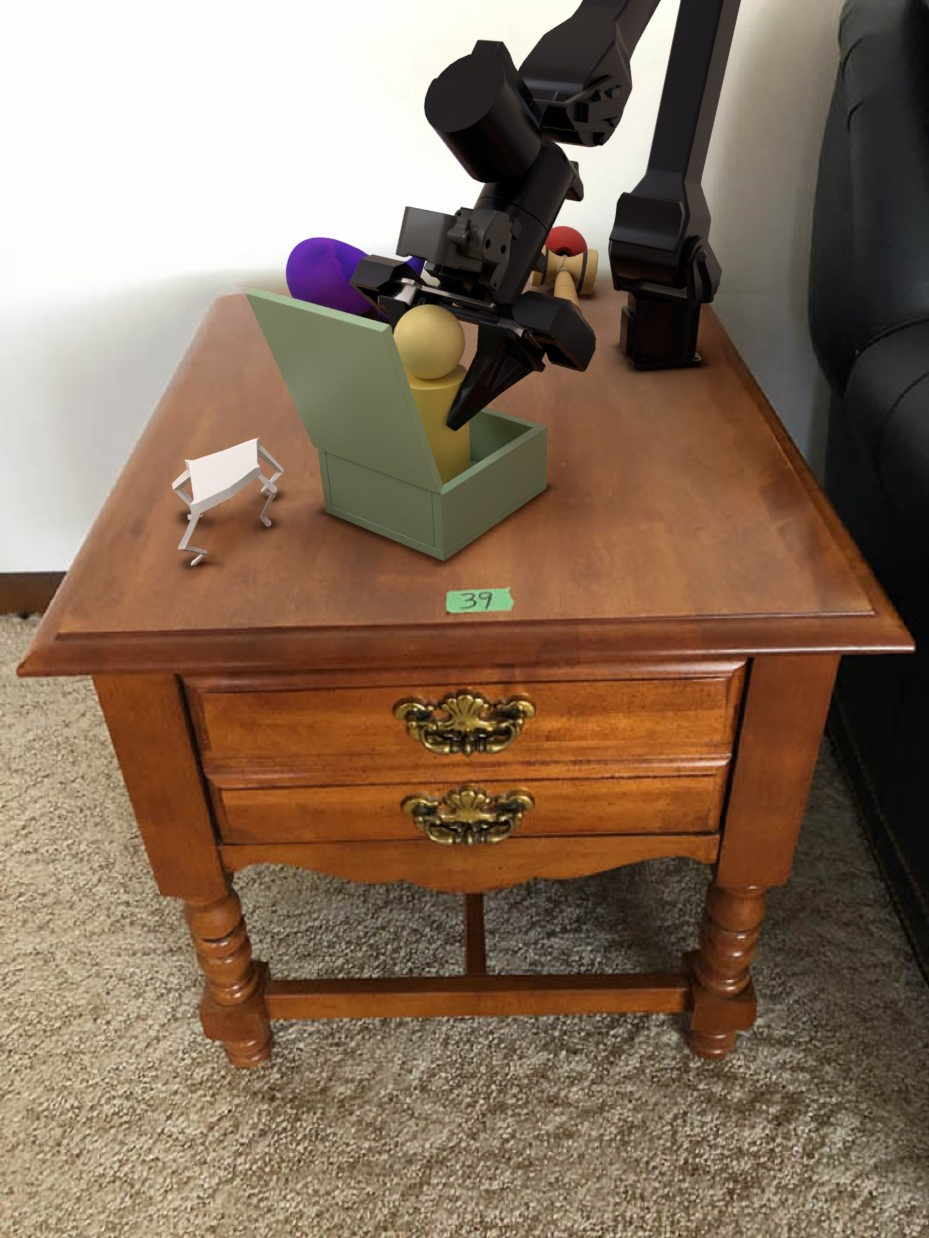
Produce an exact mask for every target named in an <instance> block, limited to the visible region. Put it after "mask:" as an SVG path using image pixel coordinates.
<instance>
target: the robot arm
mask: <svg viewBox="0 0 929 1238" xmlns="http://www.w3.org/2000/svg"><path fill="white" fill-rule="evenodd" d="M661 1H662V0H581V2H580V4H579V5H578V7H577V9H575V11H574V12H573V13H572V15H571V16H569V18H567V19H565V20H563V21H562V22H561V23H559V24H557V25H556V26H555V27H553V28H551V29H550V30H548V31H547V32H545V33H544V34H542V36H541V38H540V39H539V40H538V42H537V43H536V44H535V46H534V47H532V49H531V51H530V52H529V53H528V55H526V57H525V58H524V59H523V61H522V63H521V64H520V66H519V67H518V68H517V67H516V65H515V63H514V59H513V57H512V54H511V52H510V51H509V49H508V47H507V46H506V44H505V42H504V41H503V40H493V39H491V40H489V39H477V40H476V41H475V44H474V46H473V49H472V50H471V53H469V54H466V55H464V56H462V57H460V58H457V59H456V60H454V61H453V62H452V63H449V65H447V66H446V67H445V68H444V69H443V70H442V71H441V72H440V73H439V75H438V76H436V77H435V78H433V79H432V80H431V82H430V84H429V85H428V87H427V91H426V93H425V96H424V101H423V111H424V116H425V119H426V120H427V122H428V124H429V126H430V127H431V128H432V130H434V132H435V133H436V134H437V136H438V137H439V138H440V140H441V141H442V142H443V144H444V145H445V146H446V148H447V150H448V151H450V153H451V154H452V155H453V157H454V158H455V159H456V161H457V162H458V163H459V165H460V167H462V168H463V170H464V172H466V174H467V175H468V176H469V177H470V178H471V179H472V180H474V181H476V182H478V183H481V184H483V186H482V188H481V190H480V193H479V195H478V197H477V199H476V201H475V204H474V205H473V208H470V207H466V206H460V208H459V209H457V210H456V211H455V213H454V214H450V213H444V212H440V211H435V210H429V209H424V208H420V207H414V206H407V205H406V206H405V207H404V210H403V216H402V220H401V225H400V229H399V235H398V239H397V244H396V249H395V256H398V257H401V258H408V257H411V258H412V257H415V258H418V259H421V260H425V265H424V268H423V271H425V272H426V273H427V274H428V275H429V276H430V277H431V278H435V279H437V281H438V285H433V284H429V283H427V281H425V279H423V277H421V276H419V275H418V274H417V273H416V271H415V270H414V269H413V268H412V267H411V266H410V265H409V264H408V263H407V262H404V261H405V260H399V259H395V258H390V257H386V256H381V255H377V254H373V253H372V254H368V255H369V256H367V257H364V258H362V259H360V261H359V263H358V265H357V268H356V270H355V272H354V274H353V276H352V278H351V280H350V283H349V284H350V285H351V286H352V287H353V288H354V289H355V290H356V291H358V292H359V293H360V294H361V295H362V296H363V297H364V298H365V299H366V300H367V301H369V302H370V303H371V304H372V305H373V306H374V307H373V308H375V309H376V311H377V310H378V311H380V312H381V313H382V314H383V315H384V316H385V317H387V318H389V320H390V321H389V325H390V327H391V330H392V333H393V335H394V331H395V328H396V326H397V324H398V322H399V320H400V319H401V318H402V316H403V315H404V314H405V313H407V312H408V311H409V310H411V309H413V308H415V307H417V306H421V305H436V306H440V307H443V308H445V309H447V310H448V311H450V312H451V313H452V314H453V315H454V316H455V317H456V318H457V319H458V321H459V322H460V321H461V322H463V323H468V324H470V325H471V324H472V325H476V326H477V339H476V341H477V342H476V352H475V354H474V357H473V358H472V361H471V363H470V365H469V367H468V369H467V373H466V376H465V378H464V380H463V382H462V384H461V387H460V389H459V391H458V393H457V395H456V397H455V400H454V402H453V404H452V407H451V410H450V413H449V416H448V419H447V421H446V426H447V427H448V428H450V429H451V430H453V431H457V430H459V429H460V428H461V427H462V426H463V425H464V424H466V423H467V422H468V421H469V420H470V419H472V418H473V417H474V416H475V415H476V414H477V413H479V412H480V411H481V410H482V409H483V408H485V407H486V408H487V406H488V405H489V404H490V403H492V402H493V401H494V400H495V399H496V398H499V396H500V395H502V394H503V393H504V392H506V391H507V390H509V389H510V388H512V387H513V386H515V385H516V384H517V383H519V382H521V380H523V379H525V378H526V377H527V376H529V375H530V374H532V373H534V372H536V373H544V371H545V370H546V367H547V365H546V364H545V363H544V361H543V360H544V357H545V355H546V357H547V359H548V362H550V364H551V365H554V366H557V367H561V368H565V369H569V370H572V371H576V372H579V373H584V372H585V371H587V370H588V367H589V365H590V363H591V360H592V358H593V356H594V354H595V352H596V349H597V346H596V345H597V337H596V333H595V330H594V329H593V328H592V327H591V325H590V324H589V323H588V321H587V319H585V317H584V316H583V314H582V315H581V313H582V312H581V313H580V312H579V311H578V309H577V308H576V307H575V305H574V304H573V303H572V301H571V300H568V299H564V298H560V297H555V296H554V295H551V294H546V293H543V292H537V291H534V290H529V289H528V290H527V291H525V288H526V286H527V284H528V282H529V280H530V278H531V273H532V271H535V272H540V273H543V272H544V270H545V267H546V265H547V263H548V259H547V258H546V257H545V255H544V254H543V253H542V249H543V247H544V245H545V242H546V240H547V238H548V236H549V234H550V232H551V229H552V228H554V225H555V224H556V221H557V218H558V217H559V214H560V212H561V210H562V208H563V205H564V203H565V201H572V202H578V203H580V202H582V201H583V200H584V198H585V189H584V188H585V187H584V182H583V181H582V178H581V175H580V164H579V161H576V160H571V159H569V157H568V155H567V154H566V152H565V151H564V150H563V148H562V147H561V146H560V145H559V144H562V145H568V146H576V147H582V148H583V147H584V148H595V147H603V146H604V145H605V144H606V143H608V142H609V140H610V139H611V137H612V136H613V134H614V133H615V131H616V129H617V128H618V126H619V124H620V123H621V121H622V118H623V115H624V113H625V112H624V111H625V108H626V105H627V103H628V101H629V98H630V96H631V94H632V92H633V77H632V68H631V67H632V66H631V60H632V57H633V54H634V52H635V50H636V47H637V46H638V43H639V41H640V40H641V38H642V36H643V34H644V32H645V31H646V28H647V27H648V25H649V24H650V22H651V19H652V18H653V16H654V14H655V12H656V11H657V9H658V7H659V5H660V3H661ZM741 3H742V0H679V6H678V10H677V15H676V19H675V20H676V21H675V24H674V31H673V35H672V40H671V45H670V49H669V55H668V61H667V65H666V69H665V75H664V80H663V84H662V85H663V86H662V90H661V95H660V100H659V105H658V110H657V116H656V120H655V125H654V130H653V135H652V140H651V144H650V150H649V155H648V160H647V165H646V170H645V173H644V175H643V177H642V178H641V179H640V180H639V181H638V183H637V184H636V185H635V186H634V187H633V189H632V190H631V191H630V192H627V191H623V192H621V193H620V195H619V198H618V199H617V201H616V206H615V214H614V221H613V225H612V228H611V231H610V234H609V237H608V245H607V246H608V247H607V256H608V261H609V267H610V274H611V280H612V286H613V287H612V288H613V290H614V291H616V292H625V293H627V304H625V305H622V307H621V311H620V329H619V343H618V344H619V348H620V349H621V351H622V353H623V355H624V356H625V357H627V359H628V361H629V363H631V366H632V368H633V369H636V370H648V369H660V368H673V367H687V366H698V365H701V364H702V357H701V356H700V355H699V354H698V352H697V347H698V335H699V327H700V318H701V309H702V305H704V304H705V305H706V304H711V303H713V302H714V301H715V299H714V298H715V295H716V294H717V293H718V290H719V287H720V284H721V277H722V274H723V269H722V267H721V264H720V262H719V261H718V258H717V256H716V255H715V253H714V250H713V248H712V246H711V244H710V242H709V239H710V238H709V237H710V230H711V225H712V215H711V213H710V209H709V206H708V203H707V200H706V195H705V193H704V190H703V186H702V180H703V176H704V171H705V165H706V161H707V157H708V152H709V148H710V143H711V138H712V134H713V130H714V125H715V121H716V116H717V111H718V106H719V102H720V98H721V93H722V89H723V84H724V80H725V75H726V70H727V66H728V63H729V57H730V53H731V49H732V43H733V40H734V35H735V30H736V25H737V21H738V16H739V11H740V7H741Z"/></svg>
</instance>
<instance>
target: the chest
mask: <svg viewBox="0 0 929 1238" xmlns="http://www.w3.org/2000/svg"><path fill="white" fill-rule="evenodd" d="M548 428H549V427H548V426H547V425H544V424H541V423H537V422H536V421H535V422H534V421H531V420H529V419H525V418H522V417H518V416H516V415H512V414H508V413H505V412H502V411H499V410H496V409H492V408H489V407H487V406H486V407H485V408H483V409H482V410H481V411H480V412H479V413H477V414H476V415H475V416H474V417H473V418H472V419H470V420H469V436H470V468H469V469H468V470H466V471H465V472H463V473H462V474H460V475H459V476H457V477H455V478H454V479H452V480H451V481H449V482H448V483H446V484H445V485H443V488H442V489H441V490H440V491H439V492H438V493H435V492H432V491H429V490H427V489H424V488H421V487H419V486H416V485H413V484H411V483H408V482H405V481H403V480H400V479H397V478H395V477H392V476H389V475H387V474H384V473H381V472H379V471H376V470H373V469H371V468H368V467H365V466H363V465H360V464H357V463H355V462H352V461H349V460H347V459H344V458H341V457H339V456H336V455H333V454H331V453H328V452H325V451H323V450H320V449H317V454H318V462H319V469H320V479H321V486H322V494H323V502H324V509H325V512H326V514H329V515H332V516H334V517H337V518H339V519H341V520H344V521H346V522H349V523H351V524H353V525H356V526H358V527H361V528H363V529H366V530H368V531H371V532H373V533H375V534H377V535H379V536H383V537H385V538H387V539H389V540H392V541H394V542H397V543H399V544H402V545H404V546H406V547H409V548H412V549H413V550H416V551H418V552H421V553H423V554H425V555H428V556H430V557H432V558H435V559H437V560H440V561H442V562H445V561H447V560H448V559H450V558H451V557H452V556H454V555H455V554H457V553H458V552H460V551H461V550H462V549H463V548H465V547H466V546H468V545H469V544H471V543H472V542H474V541H475V540H476V539H478V538H479V537H480V536H482V535H483V534H485V533H486V532H487V531H489V530H490V529H492V528H493V527H494V526H496V525H498V524H499V523H500V522H501V521H503V520H504V519H505V518H507V517H508V516H510V515H511V514H513V513H514V512H516V511H517V510H518V509H519V508H521V507H523V506H524V505H525V504H527V503H528V502H530V501H531V500H533V499H534V498H535V497H536V496H538V495H539V494H541V493H543V492H544V490H546V489H547V479H548V477H547V476H548V475H547V474H548V473H547V472H548V433H549V432H548Z"/></svg>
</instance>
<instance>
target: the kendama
mask: <svg viewBox="0 0 929 1238" xmlns="http://www.w3.org/2000/svg"><path fill="white" fill-rule="evenodd" d="M542 253H543V254H544V255H545V257H546V258H547V259H548V263H547V265H546V267H545V270H544V272H543V273H540V272H535V271H532V273H531V275H530V283H529V284H530V286H531V287H534V288H541V286H543V285H545V284H546V283H549V282H554V283H555V284H554V292H553V296H555V297H560V298H564V299H568V300H571V301H572V303H573V304H574V305H575V307H576V308H577V309H578V311H579V312H580V313H581V315H582V316H583V314H582V309H581V306H580V302H579V297H578V293H579V294H580V295H587V296H590V295H591V294H592V292H593V291H594V288H595V284H596V279H597V273H598V265H599V251H598V249H595V248H588V244H587V241H586V239H585V238H584V236H583V235H582V233H580V231H578V230H577V229H575V228H574V227H572V226H567V225H557V226H553V227H552V229H551V232H550V234H549V236H548V238H547V240H546V242H545V245H544V247H543V249H542ZM577 291H578V293H577Z"/></svg>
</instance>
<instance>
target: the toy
mask: <svg viewBox="0 0 929 1238" xmlns="http://www.w3.org/2000/svg"><path fill="white" fill-rule="evenodd" d="M369 255H370V254H368V253H366V252H365V251H363V250H362V249H361V248H359V247H356V246H355V245H351V244H349V243H348V242H345V241H342V240H339V239H336V238H331V237H325V236H316V237H309V238H306V239H303V240H301V241H300V242H299V243H297V244H296V245H295V246H294V247H293V248H292V250H291V251H290V253H289V255H288V258H287V261H286V265H285V279H286V285H287V288H288V291H289V294H290V297H291V298H294V299H298V300H301V301H305V302H309V303H312V304H316V305H320V306H323V307H327V308H331V309H334V310H338V311H341V312H345V313H349V314H352V315H356V316H361V315H363V314H364V313H367V312H369V311H370V310H372V309H373V308H375V307H374V306H373V305H372V304H371V303H370V302H369V301H367V300H366V299H365V298H364V297H363V296H362V295H361V294H360V293H359V292H358V291H356V290H355V289H354V288H353V287H352V286H351V285H350V284H349V283H350V280H351V278H352V276H353V274H354V272H355V270H356V268H357V265H358V263H359V261H360V259H362V258H364V257H367V256H369ZM403 261H404V262H407V263H408V264H409V265H410V266H411V267H412V268H413V269H414V270H415V271H416V273H417V274H418V275H419V276H420V277H421V276H422V274H423V271H424V266H425V264H426V261H425V260H421V259H418V258H415V257H412V256H411V257H410V258H408V259H407V260H403ZM376 313H377V315H378V317H379V318H381V319H382V320H383V321H385V322H390V320H389V318H387V317H385V316H384V315H383V314H382V313H381V312H380V311H378V310H377V309H376Z"/></svg>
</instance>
